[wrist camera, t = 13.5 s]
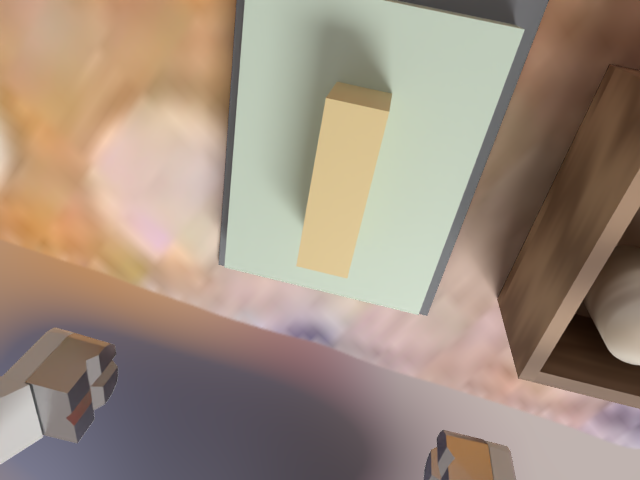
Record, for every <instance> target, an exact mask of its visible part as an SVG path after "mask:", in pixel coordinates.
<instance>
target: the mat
mask: <svg viewBox="0 0 640 480" xmlns="http://www.w3.org/2000/svg"><path fill="white" fill-rule="evenodd" d="M398 1H403V2H407V3H412V4H417V5H422V6H427V7H432V8H437V9H441V10H446V11H451V12H456V13H461V14H466V15H470V16H475V17H480V18H485V19H490V20H495V21H500V22H504V23H509V24H514V25H517V26H519V27H521V28H523V29H525V30H524V33H523V36H522V38H521V41H520V44H519V47H518V49H517V52H516V55H515V57H514V60H513V63H512V65H511V68H510V71H509V73H508V76H507V79H506V81H505V84H504V87H503V89H502V92H501V95H500V98H499V100H498V103H497V106H496V108H495V111H494V114H493V116H492V119H491V122H490V124H489V127H488V130H487V132H486V135H485V138H484V140H483V143H482V146H481V149H480V151H479V154H478V157H477V159H476V162H475V165H474V167H473V170H472V173H471V175H470V178H469V181H468V183H467V186H466V189H465V191H464V194H463V197H462V200H461V202H460V205H459V208H458V210H457V213H456V216H455V218H454V221H453V224H452V226H451V229H450V232H449V234H448V237H447V240H446V242H445V245H444V248H443V250H442V253H441V256H440V259H439V261H438V264H437V267H436V269H435V272H434V275H433V277H432V280H431V283H430V285H429V288H428V291H427V293H426V296H425V299H424V301H423V304H422V307H421V310H420V312H419V314H422V315H426V316H427V315H428V312H429V309H430V307H431V304H432V302H433V299H434V296H435V294H436V291H437V289H438V286H439V283H440V281H441V278H442V276H443V273H444V271H445V268H446V265H447V263H448V260H449V258H450V255H451V252H452V250H453V247H454V245H455V242H456V239H457V237H458V234H459V232H460V229H461V227H462V224H463V221H464V219H465V216H466V214H467V211H468V208H469V206H470V203H471V201H472V198H473V195H474V193H475V190H476V188H477V185H478V182H479V180H480V177H481V175H482V172H483V170H484V167H485V164H486V162H487V159H488V157H489V154H490V151H491V149H492V146H493V144H494V141H495V138H496V136H497V133H498V131H499V128H500V126H501V123H502V120H503V118H504V115H505V113H506V110H507V107H508V105H509V102H510V100H511V97H512V94H513V92H514V89H515V87H516V84H517V81H518V79H519V76H520V74H521V71H522V69H523V66H524V63H525V61H526V58H527V56H528V53H529V50H530V48H531V45H532V43H533V40H534V37H535V35H536V32H537V30H538V27H539V25H540V22H541V19H542V17H543V14H544V12H545V9H546V6H547V4H548V1H549V0H398ZM244 5H245V0H237V3H236V18H235V33H234V47H233V62H232V76H231V91H230V106H229V120H228V135H227V149H226V164H225V179H224V193H223V208H222V222H221V237H220V252H219V265H222V266H225V253H226V240H227V227H228V214H229V201H230V188H231V175H232V162H233V148H234V135H235V122H236V109H237V96H238V83H239V70H240V57H241V44H242V31H243V18H244Z"/></svg>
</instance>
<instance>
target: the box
mask: <svg viewBox="0 0 640 480" xmlns="http://www.w3.org/2000/svg"><path fill="white" fill-rule="evenodd" d="M497 300H498V303H499V307H500V311H501V315H502V318H503V322H504V326H505V330H506V333H507V337H508V341H509V345H510V349H511V352H512V356H513V360H514V364H515V367H516V371H517V375H518V378H519V379H523V380H527V381H531V382H535V383H539V384H543V385H547V386H551V387H555V388H559V389H563V390H567V391H571V392H575V393H579V394H583V395H587V396H591V397H595V398H599V399H603V400H607V401H611V402H615V403H619V404H623V405H627V406H631V407H635V408H639V409H640V71H639V70H634V69H630V68H625V67H620V66H615V65H609V67H608V69H607V71H606V73H605V76H604V78H603V80H602V82H601V84H600V86H599V88H598V90H597V92H596V94H595V96H594V98H593V101H592V103H591V105H590V107H589V109H588V111H587V113H586V115H585V117H584V119H583V121H582V124H581V126H580V128H579V130H578V132H577V134H576V136H575V138H574V140H573V142H572V144H571V146H570V149H569V151H568V153H567V155H566V157H565V159H564V161H563V163H562V165H561V167H560V169H559V171H558V174H557V176H556V178H555V180H554V182H553V184H552V186H551V188H550V190H549V192H548V194H547V197H546V199H545V201H544V203H543V205H542V207H541V209H540V211H539V213H538V215H537V217H536V219H535V222H534V224H533V226H532V228H531V230H530V232H529V234H528V236H527V238H526V240H525V242H524V244H523V247H522V249H521V251H520V253H519V255H518V257H517V259H516V261H515V263H514V265H513V267H512V270H511V272H510V274H509V276H508V278H507V280H506V282H505V284H504V286H503V288H502V290H501V292H500V295H499V297H498V299H497Z"/></svg>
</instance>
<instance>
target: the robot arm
mask: <svg viewBox="0 0 640 480" xmlns="http://www.w3.org/2000/svg"><path fill="white" fill-rule="evenodd" d="M115 355H116V349H115V345H114V344H110V343H107V342H104V341H100V340H97V339H93V338H90V337H86V336H83V335H80V334H76V333H72V332H69V331H65V330H62V329H58V328H53V329H52V330H49V331H48V332H46V333H45V334H44V335H43V336H42V337H41V338H40V339H39V340H38V341H37V342H36V343H35V344H34V345H33V346H32V347H31V348H30V349H29V350H28V351H27V352H26V353H25V354H24V355H23V356H22V357H21V358H20V359H19V360H18V361H17V362H16V363H15V364H14V365H13V366H12V367H11V368H10V369H9V370H8V371H7V372H6V373H5V374H4V375H3V376H2V377H0V464H2V463H3V462H5V461H6V460H8V459H9V458H11V457H13V456H14V455H16V454H17V453H19V452H21V451H22V450H24V449H25V448H27V447H28V446H30V445H31V444H33V443H35V442H36V441H38V440H39V439H41V438H42V437H43V435H46V436H50V437H54V438H58V439H62V440H66V441H70V442H74V443H78V442H79V441H80V439H81V438H82V436H83V435H84V434H85V432H86V431H87V429H88V428H89V426H90V425H91V424H92V422H93V421H94V410H95V409H97V408H99V407H100V406H102V405H104V404H106V402H107V401H108V399H109V398H110V396H111V395H112V393H113V390H114V388H115V385H116V383H117V379H118V367H117V366H116V364H115V363H114V362H113V360H112V359H113V358H114V357H115ZM424 480H516V476H515V472H514V466H513V461H512V457H511V452H510V450H509V448H508V447H507V446H504V445H500V444H496V443H492V442H488V441H484V440H482V439H479V438H474V437H471V436H467V435H462V434H458V433H454V432H450V431H446V430H442V431H441V432H440V433H439V435H438V437H437V447H436V448H434V449H432V450H431V451H430V453H429V456H428V458H427V461H426V465H425V470H424Z"/></svg>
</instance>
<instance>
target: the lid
mask: <svg viewBox="0 0 640 480" xmlns="http://www.w3.org/2000/svg"><path fill="white" fill-rule="evenodd" d="M524 30H525V29H523V28H521V27H519V26H517V25H514V24H509V23H504V22H500V21H495V20H490V19H485V18H480V17H475V16H470V15H466V14H461V13H456V12H451V11H446V10H441V9H437V8H432V7H427V6H422V5H417V4H412V3H407V2H403V1H398V0H245V5H244V18H243V31H242V44H241V57H240V70H239V83H238V96H237V109H236V122H235V135H234V148H233V162H232V175H231V188H230V201H229V214H228V227H227V240H226V253H225V266H224V267H225V268H229V269H233V270H237V271H241V272H245V273H249V274H253V275H258V276H262V277H266V278H270V279H274V280H278V281H282V282H286V283H290V284H294V285H298V286H302V287H306V288H311V289H315V290H319V291H323V292H327V293H331V294H335V295H339V296H343V297H347V298H351V299H355V300H359V301H364V302H368V303H372V304H376V305H380V306H384V307H388V308H392V309H396V310H400V311H404V312H408V313H412V314H417V315H419V312H420V310H421V307H422V304H423V301H424V299H425V296H426V293H427V291H428V288H429V285H430V283H431V280H432V277H433V275H434V272H435V269H436V267H437V264H438V261H439V259H440V256H441V253H442V250H443V248H444V245H445V242H446V240H447V237H448V234H449V232H450V229H451V226H452V224H453V221H454V218H455V216H456V213H457V210H458V208H459V205H460V202H461V200H462V197H463V194H464V191H465V189H466V186H467V183H468V181H469V178H470V175H471V173H472V170H473V167H474V165H475V162H476V159H477V157H478V154H479V151H480V149H481V146H482V143H483V140H484V138H485V135H486V132H487V130H488V127H489V124H490V122H491V119H492V116H493V114H494V111H495V108H496V106H497V103H498V100H499V98H500V95H501V92H502V89H503V87H504V84H505V81H506V79H507V76H508V73H509V71H510V68H511V65H512V63H513V60H514V57H515V55H516V52H517V49H518V47H519V44H520V41H521V38H522V36H523V33H524Z"/></svg>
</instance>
